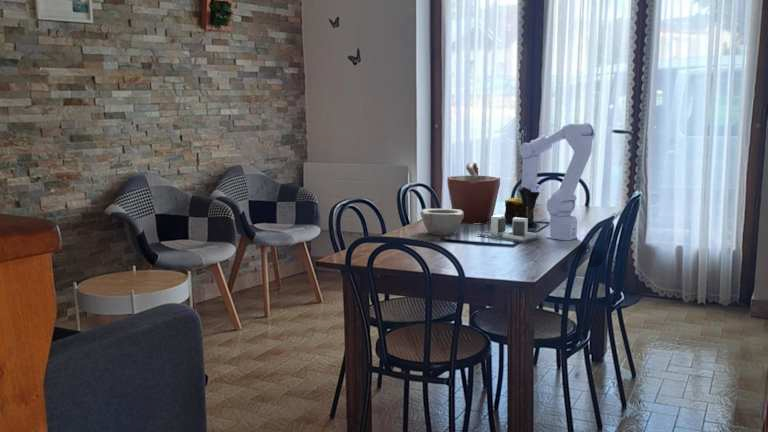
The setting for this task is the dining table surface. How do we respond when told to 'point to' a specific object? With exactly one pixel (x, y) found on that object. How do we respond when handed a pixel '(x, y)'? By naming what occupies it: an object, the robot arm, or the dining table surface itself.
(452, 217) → the mortar
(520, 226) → the white matte cuboid
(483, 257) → the dining table surface
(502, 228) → the grey hollow box
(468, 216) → the bucket
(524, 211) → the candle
